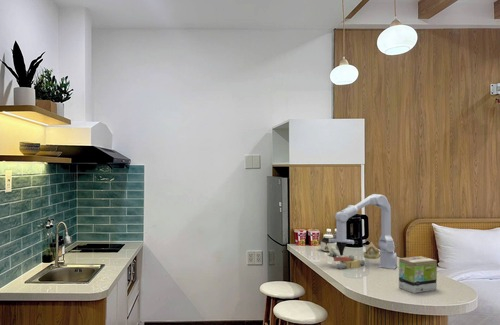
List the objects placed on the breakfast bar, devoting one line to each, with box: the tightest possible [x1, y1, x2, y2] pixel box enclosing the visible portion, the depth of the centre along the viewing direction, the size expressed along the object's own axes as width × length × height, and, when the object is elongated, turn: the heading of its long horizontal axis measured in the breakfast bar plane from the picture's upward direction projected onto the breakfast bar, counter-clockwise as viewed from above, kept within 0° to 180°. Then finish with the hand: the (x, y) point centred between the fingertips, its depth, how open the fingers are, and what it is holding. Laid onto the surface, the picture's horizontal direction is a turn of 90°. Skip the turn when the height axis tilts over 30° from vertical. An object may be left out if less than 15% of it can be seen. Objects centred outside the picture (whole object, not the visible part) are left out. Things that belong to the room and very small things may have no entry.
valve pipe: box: [336, 258, 366, 270], centre depth 222 cm, size 20×6×4 cm, turn 120°
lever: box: [333, 255, 355, 262], centre depth 221 cm, size 12×3×2 cm, turn 102°
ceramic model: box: [362, 241, 380, 259], centre depth 250 cm, size 14×11×10 cm
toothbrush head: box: [329, 247, 349, 258], centre depth 242 cm, size 5×7×25 cm
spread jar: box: [320, 233, 339, 254], centre depth 265 cm, size 12×11×12 cm
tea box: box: [398, 255, 438, 294], centre depth 182 cm, size 15×10×15 cm
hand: (341, 255), depth 220 cm, fingers closed
